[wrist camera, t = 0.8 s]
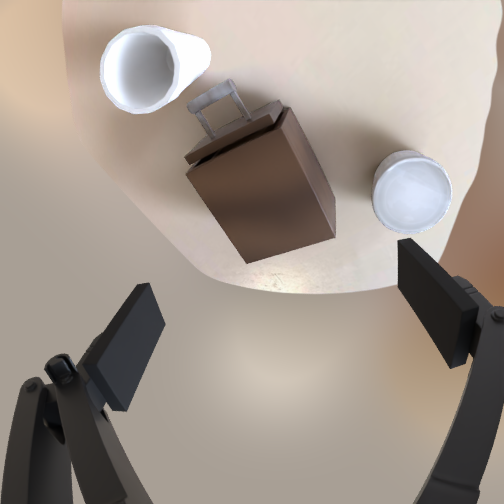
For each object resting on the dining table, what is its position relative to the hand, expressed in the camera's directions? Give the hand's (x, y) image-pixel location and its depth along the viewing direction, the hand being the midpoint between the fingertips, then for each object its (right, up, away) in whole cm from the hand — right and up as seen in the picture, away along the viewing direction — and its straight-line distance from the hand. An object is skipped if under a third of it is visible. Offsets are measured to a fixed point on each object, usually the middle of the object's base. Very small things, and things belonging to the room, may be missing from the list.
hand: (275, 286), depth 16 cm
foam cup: (-9, +27, +19) cm, 35 cm away
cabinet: (+2, +13, +28) cm, 31 cm away
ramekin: (+20, +12, +24) cm, 33 cm away
